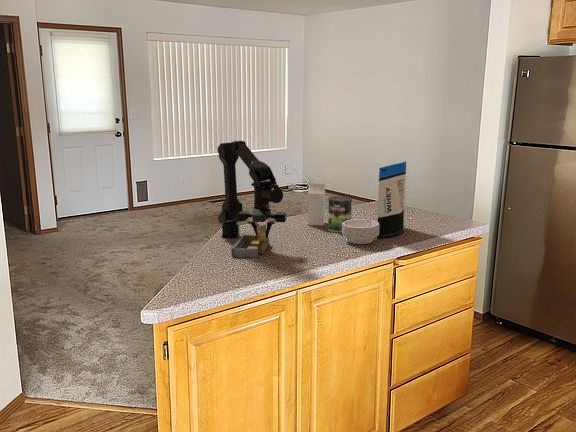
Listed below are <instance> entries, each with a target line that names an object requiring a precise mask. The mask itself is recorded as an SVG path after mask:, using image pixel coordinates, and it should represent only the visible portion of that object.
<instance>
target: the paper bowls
mask: <svg viewBox="0 0 576 432" xmlns="http://www.w3.org/2000/svg"><path fill="white" fill-rule="evenodd" d="M341 235H342V236H344V237H345V238H346V239H347V241H348V242H349V243H352V244H355V245H367V244H371V243H372V242H373V241H374V240H375V238H377V236H378V235H379V223H378V220H373V219H367V218H366V219H365V218H356V219H354V218H353V219H352V218H351V220H347V221H344V222H343V223H342V232H341Z"/></svg>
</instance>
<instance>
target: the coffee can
mask: <svg viewBox="0 0 576 432" xmlns="http://www.w3.org/2000/svg"><path fill="white" fill-rule="evenodd" d="M352 200H353V199H352V197H349V196H348V197H347V196H340V195H339V196H330V197H329V198H328V220H327V221H328V222H327V223H328V224H327V227H328V228H327V229H328V231H330V232H331V233H332V232H334V233H342V223H343V222H344V221H347V220H352Z"/></svg>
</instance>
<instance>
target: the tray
mask: <svg viewBox="0 0 576 432" xmlns="http://www.w3.org/2000/svg"><path fill="white" fill-rule="evenodd" d="M253 240H254V241H258V238H257V236H256V234H242V235H241V236H240V237H239V238H238V240H237V241H236V242H235V244H234V245H233V246H232V247H231V249H230V250H231V257H232V258H234V257H239V258H259V254H258V249H247V248H242V247H243V245H244V244H245V243H248V244H249V243H250V244H251V242H252V241H253Z"/></svg>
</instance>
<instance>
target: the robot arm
mask: <svg viewBox="0 0 576 432" xmlns="http://www.w3.org/2000/svg"><path fill="white" fill-rule="evenodd" d="M217 153H218V159H219V160H220V162H221V164H222V165H223V179H224V181H223V182H224V195H225V196H224V197H225V199H224V201H223V203H222V205H221V211H220V213H219V215H218V217H217V220H218V223H219V224H221V227H222V228H221V232H222V234H221V238H226V239H228V238H232V239H233V238H234V239H236V238H238V236H239V235H240V234H241V233H240V224H239V223H240V222H246V221H247V224H250V225H251V227H252V229H253V230H254V235H256V236H257V238H258V234H257V227H256V226H257V225H258V224H259V222H260V223H266V239H267V238H268V237H269V235H270V232H271V228H272V225H275V224H276V223H286V221H287V220H288V214H287V212H286V211H283V212H282V211H276V213H275V214H272V211H271V208H270V203H273V204H280V202H281V201H283V198H284V193H283V190H282V189H281V188H280V187H279V184H277V180H276V179H277V178H275V175H274V173H273V170H272V168H271V167H270V166H269V165H268V164H267V163H266V162H264V161H260V160H259V159H258V158H257V156H256V155H255V154H254V153H253V152H252V150H251V149H250V148H249V146H248V145H247V143H246V140H245V141H244V140H234V141H232V142H221V143H220V144H219V145H218V147H217ZM239 158H240V160H241V161H242V162H243V163H244V165H245V166H246V167H247V168H248V175H249V176H250V178H251V180H252V181H253V182H252V183H251V187H253V197H254V198H253V199H254V200H253V203H254V205H253V209H252V212H251V213H250V211H247V210H243V203H242V202H240V201H239V199H238V189H237V187H238V186H237V168H236V163H237V162H238V160H239ZM247 219H248V220H247ZM266 220H267V222H266Z"/></svg>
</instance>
